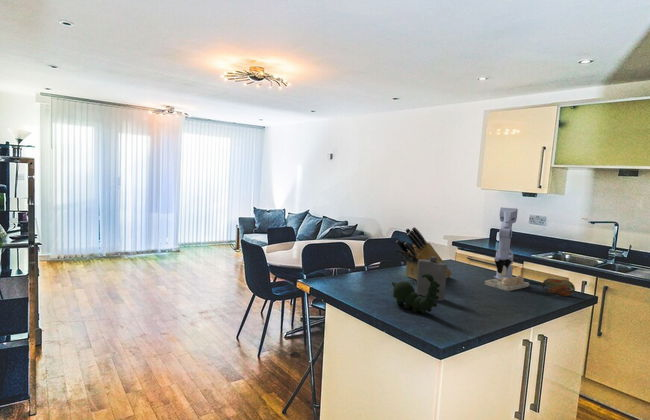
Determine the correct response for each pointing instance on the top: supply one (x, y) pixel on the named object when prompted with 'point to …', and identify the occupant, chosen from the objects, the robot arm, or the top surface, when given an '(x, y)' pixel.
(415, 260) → the knife block
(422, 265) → the flask
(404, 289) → the toy figurine
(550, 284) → the tin
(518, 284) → the egg carton
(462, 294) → the top surface
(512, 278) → the brown egg middle
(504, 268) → the cream egg
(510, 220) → the robot arm
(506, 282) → the brown egg
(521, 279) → the brown egg
